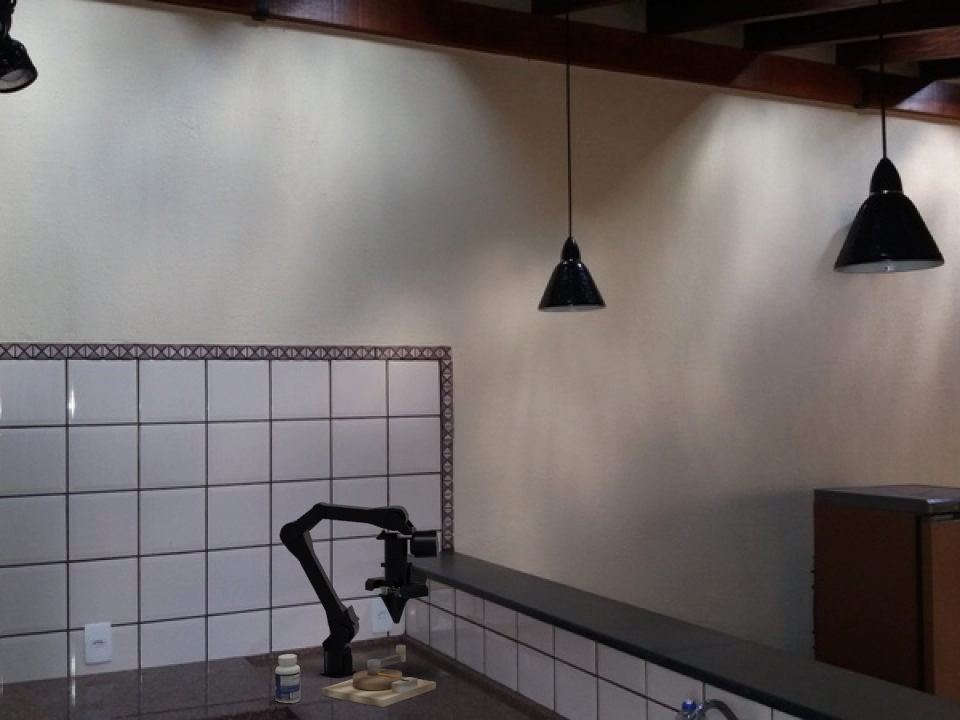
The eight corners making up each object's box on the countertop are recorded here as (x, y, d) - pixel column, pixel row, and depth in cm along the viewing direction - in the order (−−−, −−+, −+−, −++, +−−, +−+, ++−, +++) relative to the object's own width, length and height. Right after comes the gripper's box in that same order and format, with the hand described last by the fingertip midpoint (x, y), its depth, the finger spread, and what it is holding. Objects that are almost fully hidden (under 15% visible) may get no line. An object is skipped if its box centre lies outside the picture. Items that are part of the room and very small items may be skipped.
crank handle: (342, 685, 237) (342, 655, 237) (390, 671, 249) (389, 642, 250) (378, 692, 230) (378, 661, 231) (425, 677, 243) (425, 648, 243)
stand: (322, 695, 236) (322, 678, 236) (376, 678, 250) (375, 662, 250) (383, 707, 225) (382, 689, 225) (435, 688, 240) (435, 672, 240)
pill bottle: (276, 698, 234) (276, 653, 234) (301, 697, 234) (301, 652, 235) (274, 705, 228) (273, 659, 229) (299, 704, 229) (298, 658, 229)
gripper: (446, 558, 254) (447, 624, 253) (399, 551, 268) (400, 614, 267) (409, 563, 247) (409, 630, 246) (363, 555, 261) (363, 619, 260)
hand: (396, 623), depth 255 cm, fingers closed
